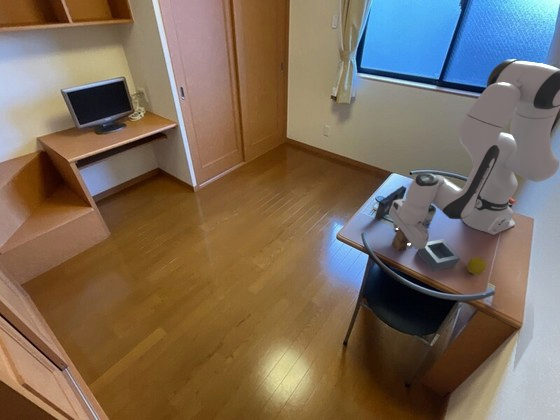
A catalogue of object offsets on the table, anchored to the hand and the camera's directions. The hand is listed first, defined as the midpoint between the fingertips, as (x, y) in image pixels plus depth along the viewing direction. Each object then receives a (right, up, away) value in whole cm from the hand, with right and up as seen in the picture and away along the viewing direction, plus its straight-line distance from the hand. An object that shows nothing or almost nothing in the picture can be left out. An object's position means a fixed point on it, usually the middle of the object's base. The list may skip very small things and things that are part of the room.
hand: (401, 239), depth 114 cm
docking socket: (+13, -8, -2) cm, 15 cm away
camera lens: (+17, +7, +16) cm, 24 cm away
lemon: (+24, -12, -6) cm, 27 cm away
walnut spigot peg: (0, -4, +3) cm, 5 cm away
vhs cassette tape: (+2, +11, +20) cm, 23 cm away
